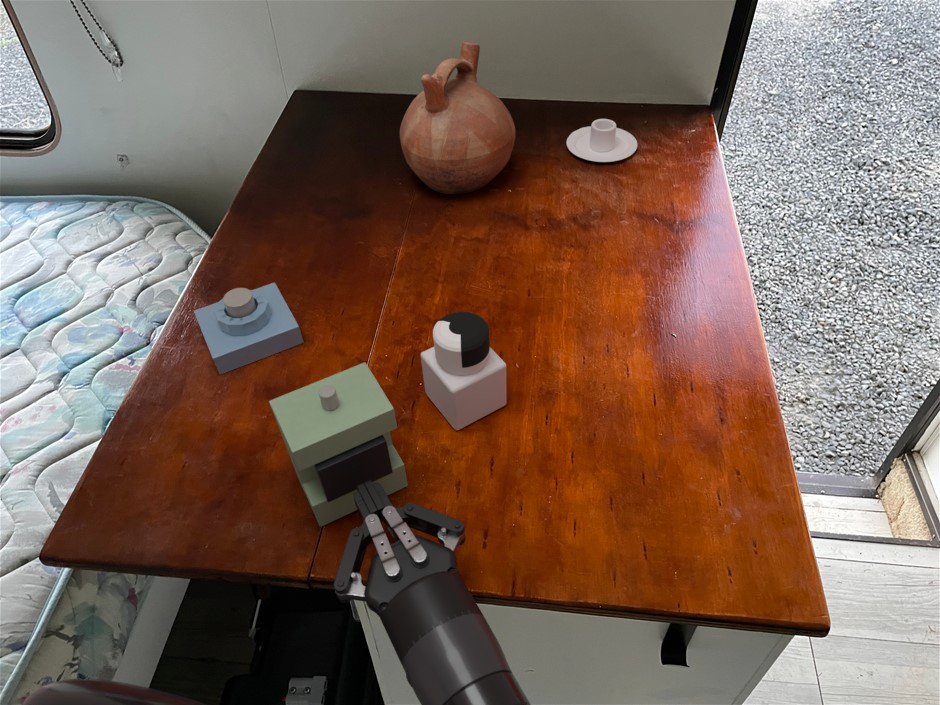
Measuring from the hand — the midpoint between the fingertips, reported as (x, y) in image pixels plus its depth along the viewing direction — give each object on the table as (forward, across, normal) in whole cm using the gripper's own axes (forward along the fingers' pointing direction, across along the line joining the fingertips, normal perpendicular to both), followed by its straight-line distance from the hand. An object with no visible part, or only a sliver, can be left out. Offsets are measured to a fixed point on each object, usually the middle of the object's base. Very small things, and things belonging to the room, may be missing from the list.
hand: (363, 487), depth 68 cm
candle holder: (+48, -63, +7) cm, 80 cm away
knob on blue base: (+34, +3, +7) cm, 35 cm away
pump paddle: (+2, 0, +3) cm, 4 cm away
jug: (+53, -38, +7) cm, 66 cm away
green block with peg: (+5, 0, +7) cm, 8 cm away
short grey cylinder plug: (+34, +3, +2) cm, 34 cm away
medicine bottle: (+10, -16, +7) cm, 20 cm away
